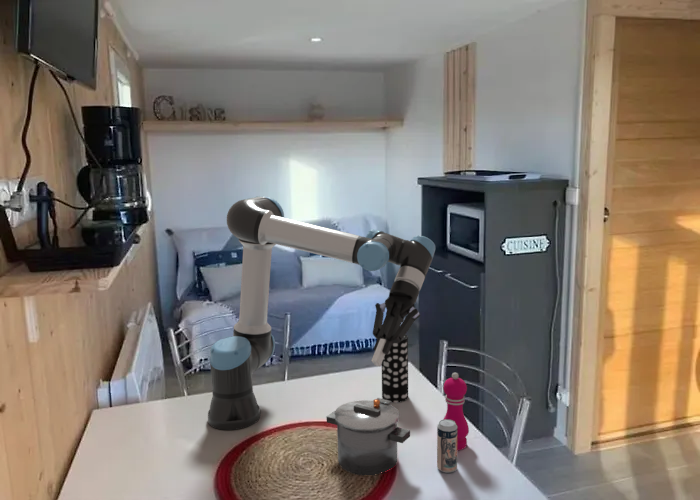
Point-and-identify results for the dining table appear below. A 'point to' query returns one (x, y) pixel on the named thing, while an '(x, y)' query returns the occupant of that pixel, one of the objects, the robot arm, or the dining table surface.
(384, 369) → the white-spotted black cylinder
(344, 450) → the cooking pot
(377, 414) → the pot lid
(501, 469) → the dining table surface
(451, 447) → the beer can
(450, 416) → the pepper mill
